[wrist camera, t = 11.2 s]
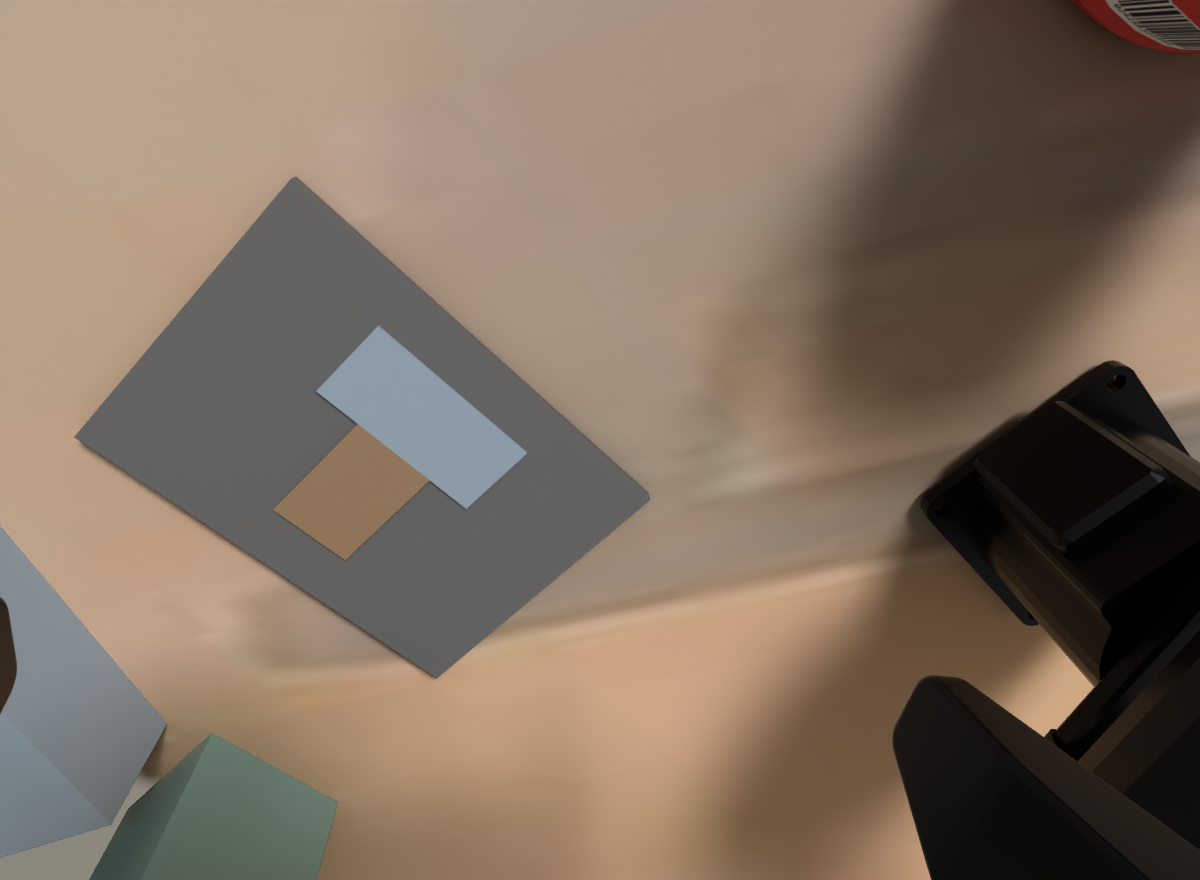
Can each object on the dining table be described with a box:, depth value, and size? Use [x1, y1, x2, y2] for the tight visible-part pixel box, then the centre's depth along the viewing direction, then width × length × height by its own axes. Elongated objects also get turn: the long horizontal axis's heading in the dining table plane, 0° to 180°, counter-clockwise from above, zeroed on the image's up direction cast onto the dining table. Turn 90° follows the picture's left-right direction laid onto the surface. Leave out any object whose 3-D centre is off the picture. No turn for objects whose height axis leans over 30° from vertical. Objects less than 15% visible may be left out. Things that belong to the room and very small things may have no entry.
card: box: [74, 177, 650, 678], centre depth 21 cm, size 12×9×1 cm
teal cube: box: [89, 733, 338, 880], centre depth 24 cm, size 5×5×5 cm
